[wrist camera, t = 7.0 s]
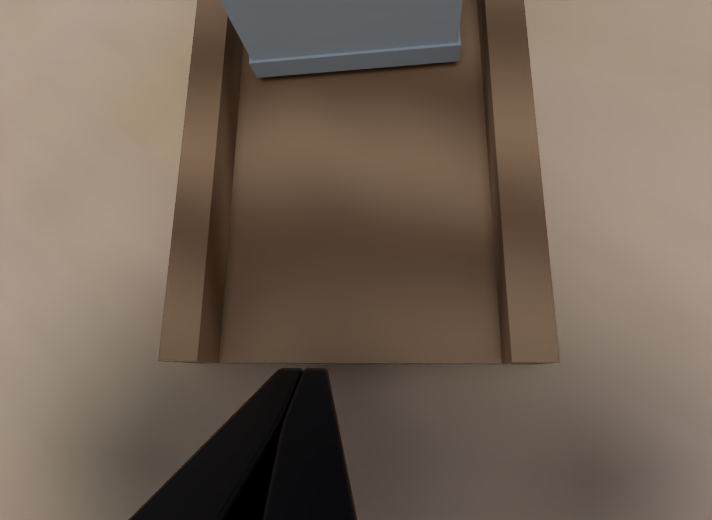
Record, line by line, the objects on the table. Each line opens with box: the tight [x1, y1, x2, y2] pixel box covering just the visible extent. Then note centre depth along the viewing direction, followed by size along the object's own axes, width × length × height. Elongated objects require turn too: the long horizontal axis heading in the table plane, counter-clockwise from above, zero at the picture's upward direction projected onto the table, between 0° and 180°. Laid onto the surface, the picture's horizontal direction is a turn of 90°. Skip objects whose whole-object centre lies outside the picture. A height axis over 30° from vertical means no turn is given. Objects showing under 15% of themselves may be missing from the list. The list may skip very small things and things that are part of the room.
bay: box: [158, 0, 560, 364], centre depth 15 cm, size 19×11×5 cm, turn 0°
